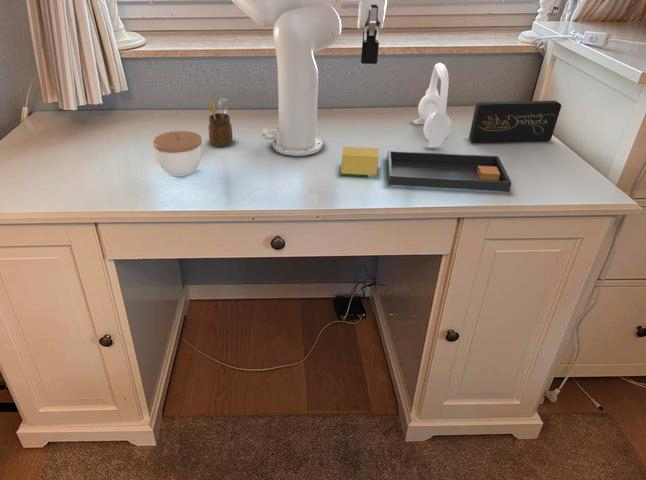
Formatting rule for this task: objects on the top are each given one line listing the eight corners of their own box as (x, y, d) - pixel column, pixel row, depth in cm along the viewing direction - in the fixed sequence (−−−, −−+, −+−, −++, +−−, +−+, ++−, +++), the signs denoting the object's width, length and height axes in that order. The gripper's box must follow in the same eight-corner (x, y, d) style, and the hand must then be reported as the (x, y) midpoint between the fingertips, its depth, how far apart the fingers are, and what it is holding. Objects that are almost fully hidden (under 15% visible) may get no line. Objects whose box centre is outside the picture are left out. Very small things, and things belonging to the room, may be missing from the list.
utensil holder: (237, 141, 134) (234, 94, 127) (224, 149, 130) (220, 101, 123) (218, 137, 136) (214, 91, 129) (204, 145, 132) (200, 98, 125)
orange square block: (479, 179, 113) (481, 173, 112) (476, 172, 116) (478, 165, 115) (498, 180, 113) (500, 174, 112) (495, 173, 116) (496, 166, 115)
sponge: (340, 175, 117) (342, 155, 114) (341, 166, 121) (343, 146, 118) (376, 177, 116) (378, 157, 113) (376, 168, 120) (378, 148, 117)
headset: (448, 151, 128) (463, 77, 117) (419, 150, 128) (431, 76, 118) (438, 123, 144) (450, 56, 133) (413, 122, 145) (422, 55, 134)
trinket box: (154, 165, 122) (148, 127, 116) (198, 159, 125) (194, 121, 119) (162, 184, 114) (155, 143, 108) (209, 176, 117) (205, 136, 111)
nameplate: (547, 138, 134) (558, 100, 128) (550, 141, 133) (562, 102, 127) (468, 140, 133) (476, 102, 127) (470, 143, 132) (479, 104, 126)
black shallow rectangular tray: (388, 187, 112) (389, 176, 110) (386, 160, 123) (388, 150, 122) (508, 194, 109) (511, 182, 107) (495, 166, 120) (498, 156, 119)
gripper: (358, -43, 104) (352, 47, 114) (356, -35, 90) (349, 67, 100) (396, -43, 103) (386, 48, 113) (399, -34, 89) (388, 68, 99)
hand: (369, 57), depth 107 cm, fingers open, 9 cm apart
